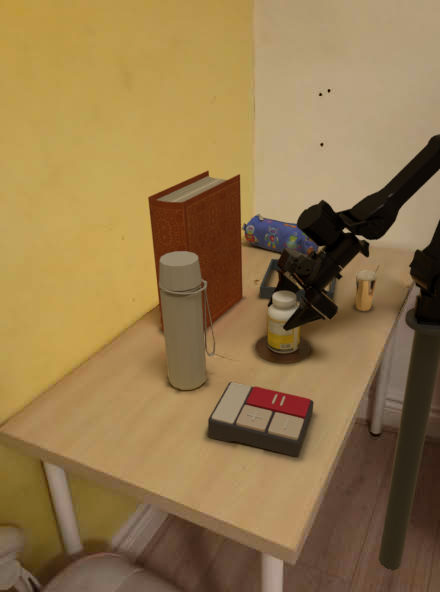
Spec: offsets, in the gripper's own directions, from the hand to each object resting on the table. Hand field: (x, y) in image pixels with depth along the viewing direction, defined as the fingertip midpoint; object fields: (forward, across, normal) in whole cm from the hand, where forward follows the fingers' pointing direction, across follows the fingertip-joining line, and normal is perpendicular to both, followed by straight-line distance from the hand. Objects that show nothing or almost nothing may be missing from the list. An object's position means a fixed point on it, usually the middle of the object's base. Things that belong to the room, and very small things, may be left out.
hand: (276, 318), depth 106 cm
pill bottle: (+4, 0, +6) cm, 7 cm away
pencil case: (-8, -50, +19) cm, 54 cm away
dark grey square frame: (-6, -26, +16) cm, 32 cm away
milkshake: (-13, -11, +23) cm, 29 cm away
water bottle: (+18, +5, -8) cm, 21 cm away
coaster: (+4, 0, +6) cm, 7 cm away
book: (+13, -19, -2) cm, 23 cm away
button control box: (+12, +21, -2) cm, 25 cm away
